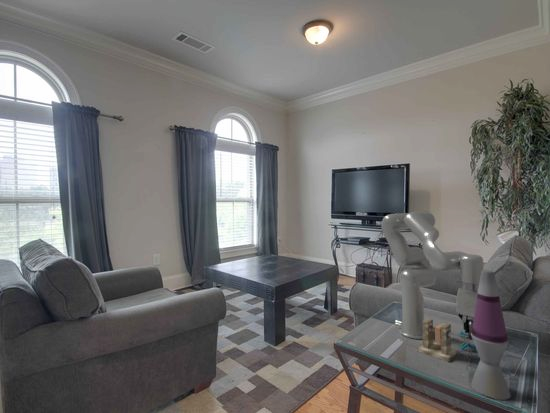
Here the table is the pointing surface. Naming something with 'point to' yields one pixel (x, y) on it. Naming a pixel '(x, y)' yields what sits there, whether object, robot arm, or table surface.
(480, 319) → the lamp
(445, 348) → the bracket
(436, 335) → the spacer
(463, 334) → the gear
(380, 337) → the table surface
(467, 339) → the shaft
